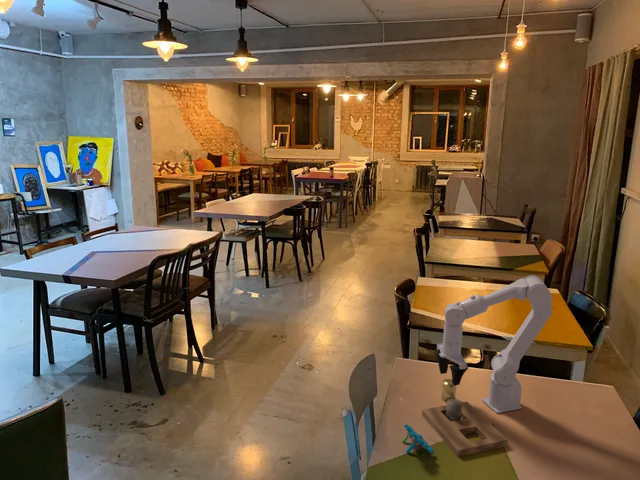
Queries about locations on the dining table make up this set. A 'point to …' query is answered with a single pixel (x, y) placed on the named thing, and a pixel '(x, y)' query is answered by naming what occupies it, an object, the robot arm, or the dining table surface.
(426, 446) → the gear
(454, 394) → the brass sleeve
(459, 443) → the walnut jig
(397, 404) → the dining table surface
